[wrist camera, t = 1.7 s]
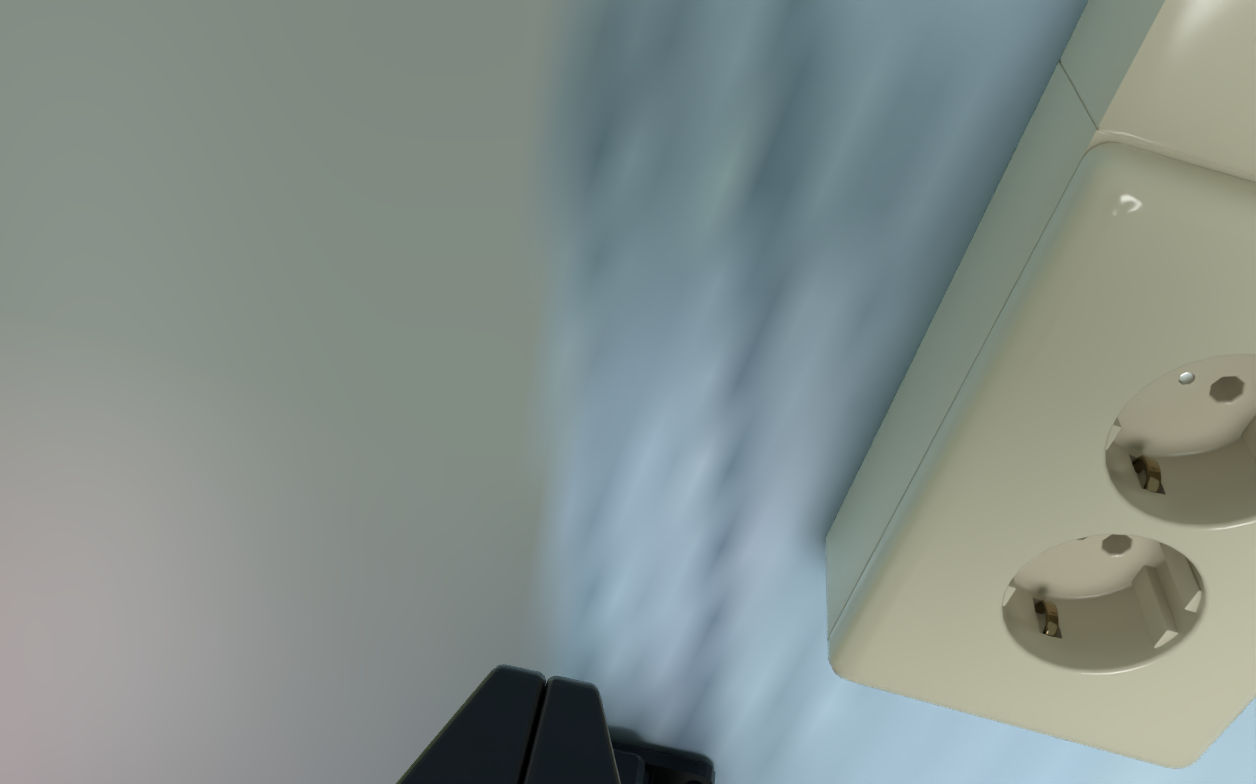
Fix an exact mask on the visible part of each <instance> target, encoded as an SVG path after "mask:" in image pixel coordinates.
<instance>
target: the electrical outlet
mask: <svg viewBox="0 0 1256 784" xmlns="http://www.w3.org/2000/svg"><path fill="white" fill-rule="evenodd" d="M1060 60H1061V61H1060V62H1058V64H1057V66H1056V68H1055V70H1054V72H1053V74H1052V76H1051V78H1050V80H1049V82H1048V84H1047V86H1046V88H1045V90H1044V92H1043V94H1042V97H1041V99H1040V101H1039V103H1038V105H1037V107H1036V109H1035V111H1034V113H1033V115H1032V117H1031V119H1030V121H1029V123H1028V125H1027V127H1026V129H1025V131H1024V133H1023V135H1022V137H1021V139H1020V141H1019V144H1018V146H1017V148H1016V150H1015V152H1014V154H1013V156H1012V158H1011V160H1010V162H1009V164H1008V166H1007V168H1006V170H1005V172H1004V174H1003V176H1002V178H1001V180H1000V182H999V184H998V186H997V189H996V191H995V193H994V195H993V197H992V199H991V201H990V203H989V205H988V207H987V209H986V211H985V213H984V215H983V217H982V219H981V221H980V223H979V225H978V227H977V229H976V231H975V233H974V236H973V238H972V240H971V242H970V244H969V246H968V248H967V250H966V252H965V254H964V256H963V258H962V260H961V262H960V264H959V266H958V268H957V270H956V272H955V274H954V276H953V278H952V281H951V283H950V285H949V287H948V289H947V291H946V293H945V295H944V297H943V299H942V301H941V303H940V305H939V307H938V309H937V311H936V313H935V315H934V317H933V319H932V321H931V323H930V326H929V328H928V330H927V332H926V334H925V336H924V338H923V340H922V342H921V344H920V346H919V348H918V350H917V352H916V354H915V356H914V358H913V360H912V362H911V364H910V366H909V368H908V370H907V373H906V375H905V377H904V379H903V381H902V383H901V385H900V387H899V389H898V391H897V393H896V395H895V397H894V399H893V401H892V403H891V405H890V407H889V409H888V411H887V413H886V415H885V418H884V420H883V422H882V424H881V426H880V428H879V430H878V432H877V434H876V436H875V438H874V440H873V442H872V444H871V446H870V448H869V450H868V452H867V454H866V456H865V458H864V460H863V463H862V465H861V467H860V469H859V471H858V473H857V475H856V477H855V479H854V481H853V483H852V485H851V487H850V489H849V491H848V493H847V495H846V497H845V499H844V501H843V503H842V505H841V507H840V510H839V512H838V514H837V516H836V518H835V520H834V522H833V524H832V526H831V528H830V530H829V532H828V534H827V536H826V541H825V547H826V594H827V640H828V660H829V663H830V665H831V667H832V669H833V671H834V672H835V674H837V675H838V676H839V677H840V678H843V679H845V680H848V681H851V682H854V683H858V684H861V685H865V686H868V687H872V688H876V689H880V690H883V691H887V692H891V693H894V694H898V695H902V696H905V697H909V698H913V699H916V700H920V701H924V702H927V703H931V704H935V705H938V706H942V707H946V708H949V709H953V710H957V711H960V712H964V713H968V714H971V715H975V716H979V717H982V718H986V719H990V720H993V721H997V722H1001V723H1005V724H1008V725H1012V726H1016V727H1019V728H1023V729H1027V730H1030V731H1034V732H1038V733H1041V734H1045V735H1049V736H1052V737H1056V738H1060V739H1063V740H1067V741H1071V742H1074V743H1078V744H1082V745H1085V746H1089V747H1093V748H1096V749H1100V750H1104V751H1107V752H1111V753H1115V754H1119V755H1122V756H1126V757H1130V758H1133V759H1137V760H1141V761H1144V762H1148V763H1152V764H1155V765H1159V766H1163V767H1166V768H1173V769H1178V768H1186V767H1188V766H1191V765H1193V764H1194V763H1195V762H1197V761H1198V760H1199V759H1200V758H1201V756H1202V755H1203V754H1204V753H1205V752H1206V751H1207V750H1208V749H1209V748H1210V747H1211V746H1212V745H1213V743H1214V742H1215V741H1216V740H1217V739H1218V738H1219V737H1220V736H1221V735H1222V734H1223V733H1224V731H1225V730H1226V729H1227V728H1228V727H1229V726H1230V725H1231V724H1232V723H1233V722H1234V721H1235V719H1236V718H1237V717H1238V716H1239V715H1240V714H1241V713H1242V712H1243V711H1244V710H1245V709H1246V708H1247V706H1248V705H1249V704H1250V703H1251V702H1252V701H1253V700H1254V699H1255V698H1256V0H1088V2H1087V4H1086V7H1085V9H1084V11H1083V13H1082V15H1081V17H1080V19H1079V21H1078V23H1077V25H1076V27H1075V29H1074V31H1073V33H1072V35H1071V37H1070V39H1069V41H1068V43H1067V45H1066V47H1065V49H1064V52H1063V54H1062V56H1061V58H1060Z"/></svg>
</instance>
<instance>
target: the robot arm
mask: <svg viewBox="0 0 1256 784" xmlns="http://www.w3.org/2000/svg"><path fill="white" fill-rule="evenodd" d="M545 685H546V686H545ZM714 783H715V771H714V770H713V768H712V767H711V766H709V765H708V764H706V763H704V762H701V761H697V760H692V759H688V758H683V757H679V756H674V755H670V754H665V753H661V752H656V751H652V750H647V749H642V748H638V747H633V746H629V745H624V744H620V743H615V742H611V739H610V735H609V730H608V726H607V722H606V717H605V713H604V709H603V704H602V700H601V696H600V693H599V691H598V689H597V687H596V686H595V685H593V684H592V683H588V682H584V681H579V680H575V679H570V678H566V677H561V676H553V677H551V678H550V679H549V680H548V681H547V683H546V679H545V676H544V675H543V674H542V673H540V672H538V671H534V670H529V669H524V668H520V667H515V666H511V665H505V664H503V665H499V666H497V667H496V668H495V669H493V670H492V671H491V672H490V673H489V674H488V676H487V677H486V678H485V679H484V680H483V681H482V683H481V684H480V685H479V686H478V688H477V689H476V690H475V691H474V692H473V693H472V694H471V696H470V697H469V698H468V699H467V700H466V702H465V703H464V704H463V705H462V706H461V707H460V709H459V710H458V711H457V712H456V714H455V715H454V716H453V717H452V718H451V719H450V720H449V722H448V723H447V724H446V725H445V726H444V728H443V729H442V730H441V731H440V732H439V734H438V735H437V736H436V737H435V738H434V739H433V741H432V742H431V743H430V744H429V745H428V746H427V748H426V749H425V750H424V751H423V752H422V754H421V755H420V756H419V757H418V758H417V760H416V761H415V762H414V763H413V764H412V765H411V767H410V768H409V769H408V770H407V771H406V772H405V774H404V775H403V776H402V777H401V778H400V780H399V781H398V782H397V783H396V784H714Z"/></svg>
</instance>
